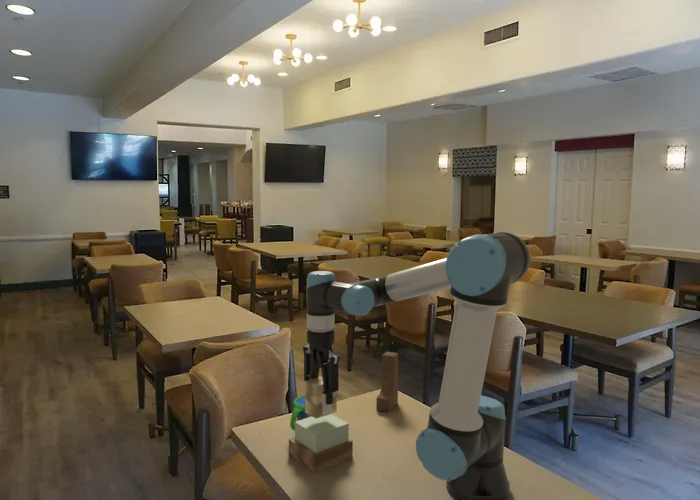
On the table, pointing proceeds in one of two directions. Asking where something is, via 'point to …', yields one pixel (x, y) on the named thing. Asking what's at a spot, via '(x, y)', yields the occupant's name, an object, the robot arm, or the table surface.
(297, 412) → the snack cup
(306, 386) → the oak block
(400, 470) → the table surface
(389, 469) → the table surface
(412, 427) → the table surface
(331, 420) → the sage slab
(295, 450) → the walnut slab
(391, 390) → the wooden block
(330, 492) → the table surface
